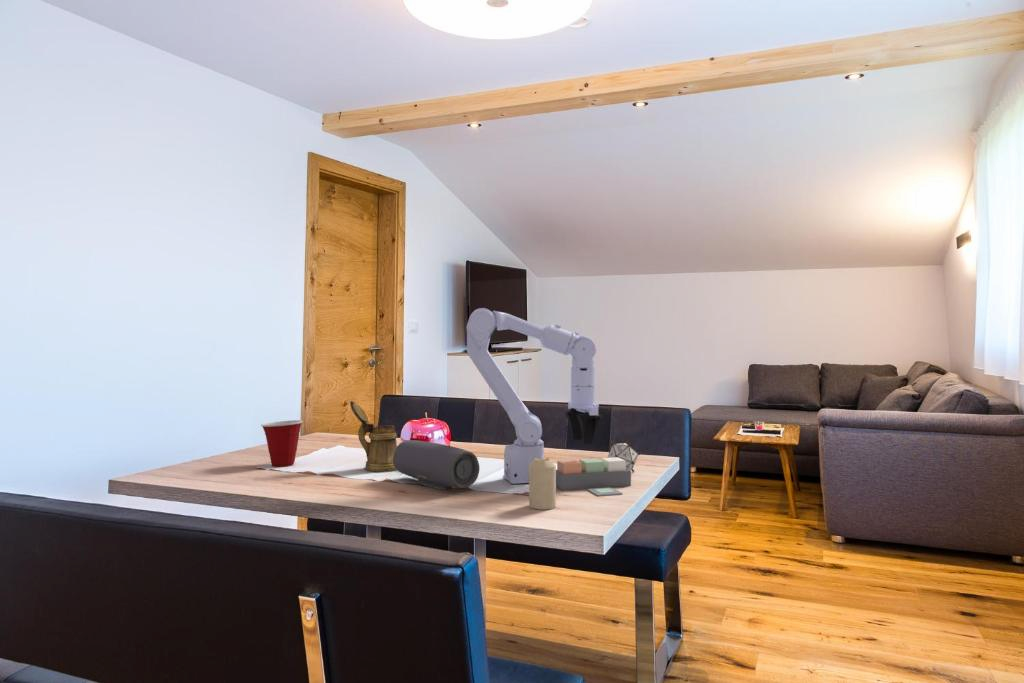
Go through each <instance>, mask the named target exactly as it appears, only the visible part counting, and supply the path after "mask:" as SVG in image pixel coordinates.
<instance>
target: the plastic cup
mask: <svg viewBox="0 0 1024 683" xmlns="http://www.w3.org/2000/svg"><path fill="white" fill-rule="evenodd" d="M303 422H304V420H301V419H299V420H297V419H295V420H282V421H274V422H266V423H262V424H260V426H261V427H262V429H263V431H264V434H265V439H266V443H267V449H268V454H269V459H270V463H271V466H272V467H276V468H277V467H278V468H282V467H283V468H284V467H290V466H294V464H295V461H296V454H297V451H298V446H299V445H298V444H299V437H300V433H301V427H302V423H303Z"/></svg>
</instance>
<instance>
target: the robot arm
mask: <svg viewBox="0 0 1024 683" xmlns="http://www.w3.org/2000/svg"><path fill="white" fill-rule="evenodd" d="M561 327H562V326H561V325H559V324H557V323H556V324H555V325H553V324H549V325H547V326H545V327H542V326H540V325H538V324H534V323H533V322H530V321H527V320H525V319H523V318H520V317H517V316H515V315H512V314H510V313H507V312H502V311H497V310H493V311H491V310H489V309H488V308H486V307H482V308H481V307H480V308H477V309H474V311H473V312H472V313H471V314H470V316H469V318H468V321H467V324H466V352H467V355H468V357H469V358H470V359H471V361H472V363H473V364H474V366H475V367H476V369H477V370H478V372H479V373H480V375H481V376H482V378H483V379H484V381H485V383H486V384H487V385H488V387H489V388H490V389H491V391H492V392H493V394H494V396H495V397H496V399H497V400H498V401H499V403H500V405H501V406H502V408H503V409H504V411H505V413H507V414H506V415H507V416H508V417H509V419H510V422H511V423H512V425H513V426H514V430H515V434H516V437H517V438H516V439H514V442H513V444H506V445H505V446H504V453H503V475H502V476H503V477H502V478H503V479H505V480H506V481H508V482H509V483H511V484H512V485H515V484H529V465H530V464H531V463H532V462H533V460H534V459H535V458H536V459H545V458H544V455H545V454H544V453H545V452H544V449H545V448H544V447H545V445H544V442H545V441H543V440H542V439H541V437H542V436H543V427H542V422H541V420H540V418H539V417H538V416H537V415H535V414H533V413H531V411H530V410H529V409H528V407H527V406H526V405H525V404H524V402H523V400H522V399H521V398H520V397H519V395H518V393H517V392H516V390H515V389H514V388H513V386H512V384H511V383H510V382H509V379H508V378H507V377H506V376H505V374H504V372H503V371H502V369H501V367H500V366H499V365H498V363H497V362H496V361H495V359H494V357H493V356H492V354H491V353H490V352H489V345H490V341H491V336H492V335H493V333H494V332H495V331H504V330H506V331H507V330H510V331H514V332H516V333H517V332H518V333H520V334H523V335H525V336H528V337H532V338H535V339H538V340H539V341H540V344H541V345H542V347H543V348H545V349H548V350H551V351H553V352H557V353H559V354H562V355H565V356H568V355H571V356H572V357H571V368H570V400H569V401H568V404H567V405H568V407H567V408H568V410H569V411H564V414H565V416H566V418H567V420H568V422H569V423H568V424H569V426H570V430H571V436H572V439H573V441H581V440H582V444H583V445H593V443H594V438H595V435H596V430H597V427H598V425H599V423H600V421H601V419H602V415H600V414H599V406H600V404H599V403H595V390H596V389H595V386H596V385H595V382H596V381H595V378H596V377H595V375H596V374H595V360H594V359H595V358H594V357H595V356H596V353H597V348H596V345H595V343H594V341H593V340H592V339H590V338H589V337H586V336H582V335H581V336H580V332H577V331H574V332H571V331H569V330H566V329H563V328H561Z"/></svg>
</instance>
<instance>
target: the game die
mask: <svg viewBox="0 0 1024 683" xmlns="http://www.w3.org/2000/svg"><path fill="white" fill-rule="evenodd" d="M610 444H611V448H610V450H609V453H608V456H607V457H606V458H613V457H618V458H621V459H623V460H626V469H628V470H630V471H631V473H635V470H634V467H635V464H636V461H637V458H638V457H639V455H642V452H637V451H636V450H635V449H634V448H633V447H631V443H628V440H627V439H626V440H625V442H621V443H620V442H619V443H614V442H613V441H610Z"/></svg>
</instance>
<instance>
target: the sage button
mask: <svg viewBox="0 0 1024 683" xmlns="http://www.w3.org/2000/svg"><path fill="white" fill-rule="evenodd" d="M578 462H580V463H582V471H583V472H585V473H594V472H604V462H603V461H601V459H598V458H597V457H596V458H584V459H583V458H581V459H579V461H578Z"/></svg>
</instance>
